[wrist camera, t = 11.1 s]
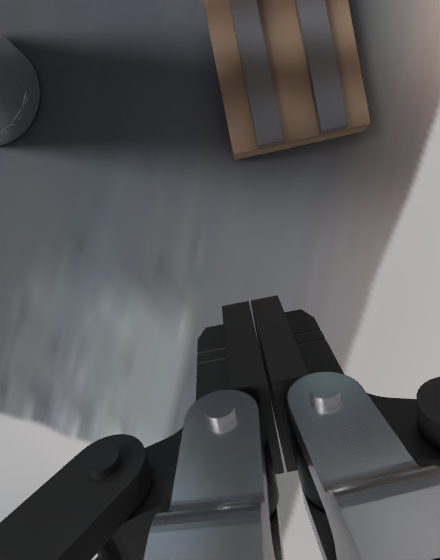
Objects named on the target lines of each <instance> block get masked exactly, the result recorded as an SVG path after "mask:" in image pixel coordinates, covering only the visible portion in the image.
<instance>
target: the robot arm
mask: <svg viewBox="0 0 440 560" xmlns="http://www.w3.org/2000/svg"><path fill="white" fill-rule="evenodd" d="M39 100H40V87H39V81H38V77H37V74H36V71H35V70H34V68H33V66H32V64H31V62H30V61H29V60H28V59H27V57H26V56H25V55H24V54H23V53H22V52H21V51H20V50H18V49H17V48H16V47H15V46H14V45H13V44H12V43H11V42H10V41H8V40H7V39H6V38H5V37H4V36H3V35H2V34H1V33H0V145H4V144H7V143H9V142H11V141H13V140H15V139H16V138H18V137H19V136H21V135H22V134H23V133H24V132H25V131H26V130H27V129H28V127H29V126H30V125H31V123H32V121H33V119H34V118H35V116H36V113H37V110H38V107H39ZM251 306H252V311H253V317H254V322H255V327H256V332H255V327H254V323H253V319H252V314H251V310H250V306H249V302H248V301H246V302H241V303H236V304H231V305H226V306H222V313H223V325H218V326H212V327H207V328H205V330H204V331H203V333H202V334H201V336H200V337H199V339H198V350H197V352H198V354H197V364H198V365H197V386H196V402H195V403H194V404H193V405H192V406H191V407H190V408H189V410H188V411H187V413H186V416H185V420H184V426H183V428H182V429H181V430H179V431H178V432H177V433H175V434H174V435H172V436H170V437H168V438H166V439H164V440H162V441H160V442H157V443H155V444H153V445H151V446H148V447H146V448H144V446H143V444H142V443H141V442H140V441H139V439H137V438H135V437H133V436H130V435H125V434H118V435H112V436H108V437H105V438H102V439H100V440H98V441H96V442H94V443H92V444H90V445H89V446H87V447H86V448H85V449H83V450H82V451H81V452H80V453H79V454H78V455H76V456H75V457H74V458H73V459H72V460H71V461H70V462H68V463H67V464H66V465H65V466H64V467H63V468H62V469H61V470H60V471H58V472H57V473H56V474H55V475H54V476H53V477H51V478H50V479H49V480H48V481H47V482H46V483H45V484H44V485H42V486H41V487H40V488H39V489H38V490H37V491H36V492H35V493H33V494H32V495H31V496H30V497H29V498H28V499H27V500H25V501H24V502H23V503H22V504H21V505H20V506H19V507H17V508H16V509H15V510H14V511H13V512H12V513H11V514H10V515H8V517H6V518H5V519H4V520H3V521H2V522H0V560H91V559H92V558H93V557H94V556H95V555H96V554H98V557H97V558H96V559H95V560H284V555H283V545H282V536H281V526H280V516H279V510H278V505H277V504H278V499H279V493H278V487H277V482H276V477H275V474H280V473H284V470H283V464H282V459H281V453H280V448H279V443H278V437H277V432H276V426H275V421H276V425H277V430H278V434H279V438H280V443H281V447H282V451H283V456H284V460H285V464H286V469H287V472H290V471H295V470H298V474H299V478H300V481H301V485H302V491H303V497H304V503H305V507H306V511H307V513H308V516H309V519H310V522H311V525H312V528H313V531H314V534H315V537H316V539H317V543H318V546H319V549H320V551H321V554H322V557H323V560H440V377H437V378H434V379H431V380H429V381H427V382H425V383H424V384H423V385H422V386H421V387H420V388H419V390H418V392H417V399H400V398H386V397H380V396H375V395H372V394H368V393H366V392H365V390H364V389H363V387H362V386H361V385H360V384H359V383H358V382H357V381H356V380H354V379H353V378H351V377H349V376H347V375H344V373H343V371H342V369H341V367H340V365H339V363H338V362H337V360H336V358H335V356H334V354H333V352H332V350H331V348H330V347H329V345H328V343H327V341H326V340H325V337H324V335H323V333H322V332H321V331H320V328H319V326H318V324H317V322H316V320H315V318H314V317H313V316H311V315H309V314H308V313H306V312H304V311H303V310H301V309H300V310H295V311H290V312H285V313H284V310H283V308H282V305H281V303H280V300H279V298H278V296H272V297H267V298H261V299H256V300H251ZM256 333H257V336H256ZM257 338H258V340H257ZM258 343H259V344H258ZM271 404H272V405H271ZM272 408H273V410H272ZM273 412H274V416H273ZM274 417H275V421H274Z"/></svg>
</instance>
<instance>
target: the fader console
mask: <svg viewBox="0 0 440 560" xmlns="http://www.w3.org/2000/svg"><path fill="white" fill-rule="evenodd" d="M203 3H204V8H205V13H206V18H207V23H208V28H209V33H210V38H211V43H212V48H213V54H214V59H215V64H216V69H217V74H218V79H219V84H220V89H221V94H222V99H223V104H224V109H225V114H226V119H227V125H228V130H229V135H230V140H231V145H232V150H233V155H234V160H239V159H244V158H248V157H253V156H257V155H262V154H266V153H271V152H275V151H279V150H284V149H288V148H293V147H297V146H302V145H306V144H311V143H315V142H320V141H324V140H329V139H333V138H337V137H342V136H346V135H351V134H355V133H360V132H364V131H365V130H366V128H367V127H368V126H369V125H370V124H371V122H370V117H369V111H368V106H367V100H366V95H365V90H364V84H363V79H362V73H361V68H360V63H359V57H358V52H357V46H356V41H355V35H354V30H353V25H352V19H351V14H350V8H349V3H348V0H203Z"/></svg>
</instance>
